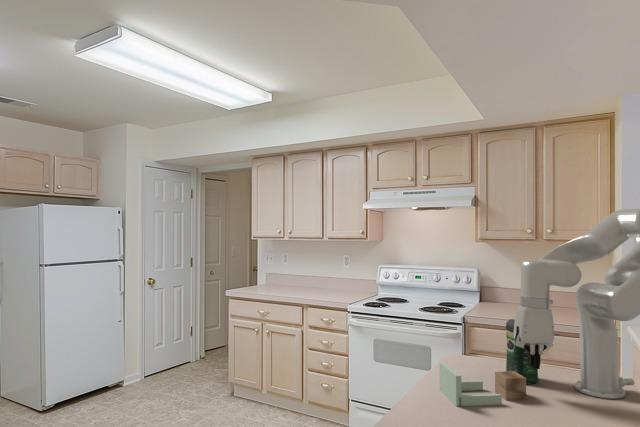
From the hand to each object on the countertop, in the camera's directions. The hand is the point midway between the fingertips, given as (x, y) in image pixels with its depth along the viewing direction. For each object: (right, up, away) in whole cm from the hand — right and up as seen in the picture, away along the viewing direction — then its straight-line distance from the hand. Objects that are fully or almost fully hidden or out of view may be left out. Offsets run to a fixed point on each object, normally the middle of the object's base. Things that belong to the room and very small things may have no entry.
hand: (533, 367), depth 127 cm
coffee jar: (+3, -9, +13) cm, 16 cm away
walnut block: (-7, -8, -1) cm, 11 cm away
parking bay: (-19, -8, -2) cm, 21 cm away
